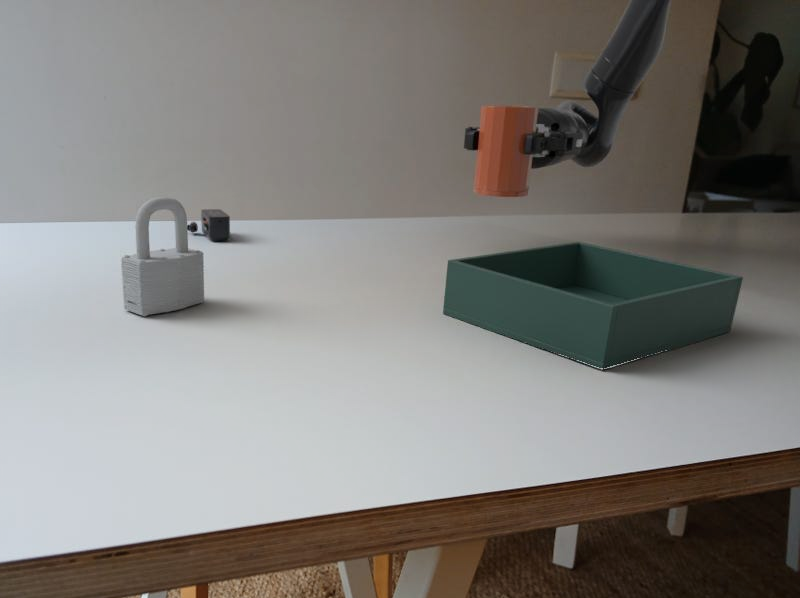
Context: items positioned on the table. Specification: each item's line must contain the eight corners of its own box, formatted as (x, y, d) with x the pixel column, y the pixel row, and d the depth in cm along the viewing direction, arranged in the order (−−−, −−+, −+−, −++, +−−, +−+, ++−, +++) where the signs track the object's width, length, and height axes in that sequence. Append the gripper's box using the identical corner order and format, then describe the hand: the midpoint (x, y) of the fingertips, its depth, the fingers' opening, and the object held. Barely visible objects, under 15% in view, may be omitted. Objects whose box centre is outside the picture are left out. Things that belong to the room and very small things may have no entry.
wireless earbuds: (219, 231, 103) (219, 208, 102) (230, 241, 97) (230, 216, 96) (186, 232, 102) (185, 208, 101) (195, 242, 96) (195, 217, 95)
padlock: (182, 295, 72) (179, 191, 68) (209, 304, 69) (207, 196, 66) (119, 309, 67) (112, 197, 63) (146, 319, 64) (140, 203, 61)
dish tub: (571, 288, 80) (578, 241, 78) (730, 331, 67) (743, 276, 65) (442, 313, 69) (447, 260, 67) (602, 371, 56) (613, 306, 54)
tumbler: (498, 189, 94) (507, 105, 90) (538, 195, 89) (549, 107, 85) (462, 191, 90) (470, 105, 87) (502, 198, 85) (512, 106, 82)
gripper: (495, 106, 101) (444, 106, 88) (603, 110, 94) (565, 111, 81) (489, 162, 104) (439, 171, 91) (594, 170, 96) (556, 181, 83)
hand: (499, 142), depth 86 cm, fingers closed on tumbler, 6 cm apart
